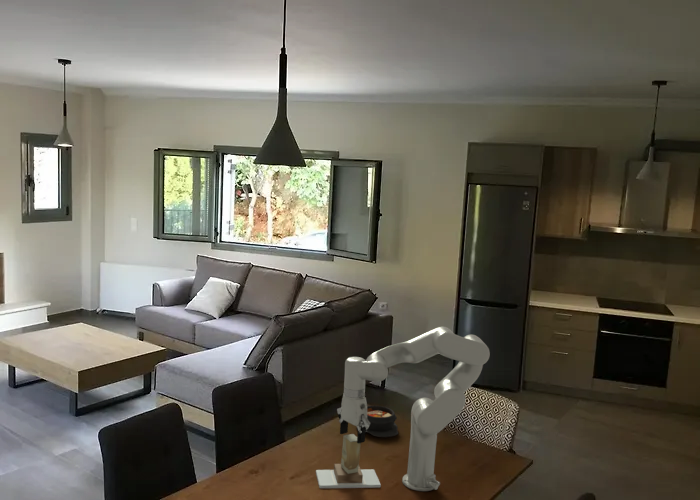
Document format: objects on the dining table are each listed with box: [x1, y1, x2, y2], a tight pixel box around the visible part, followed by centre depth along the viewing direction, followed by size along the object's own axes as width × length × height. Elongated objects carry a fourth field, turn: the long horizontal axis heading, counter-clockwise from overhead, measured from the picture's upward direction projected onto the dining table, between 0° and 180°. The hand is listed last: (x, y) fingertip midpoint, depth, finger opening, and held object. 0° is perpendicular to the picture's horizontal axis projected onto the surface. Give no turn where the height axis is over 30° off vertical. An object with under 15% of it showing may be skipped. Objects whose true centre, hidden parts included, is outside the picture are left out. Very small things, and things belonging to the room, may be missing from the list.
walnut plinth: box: [333, 463, 363, 483], centre depth 228 cm, size 9×9×3 cm
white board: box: [315, 468, 382, 489], centre depth 228 cm, size 22×12×1 cm, turn 100°
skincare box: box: [340, 433, 362, 474], centre depth 227 cm, size 6×4×12 cm
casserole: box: [359, 405, 399, 438], centre depth 276 cm, size 25×19×8 cm
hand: (352, 437), depth 226 cm, fingers open, 9 cm apart
